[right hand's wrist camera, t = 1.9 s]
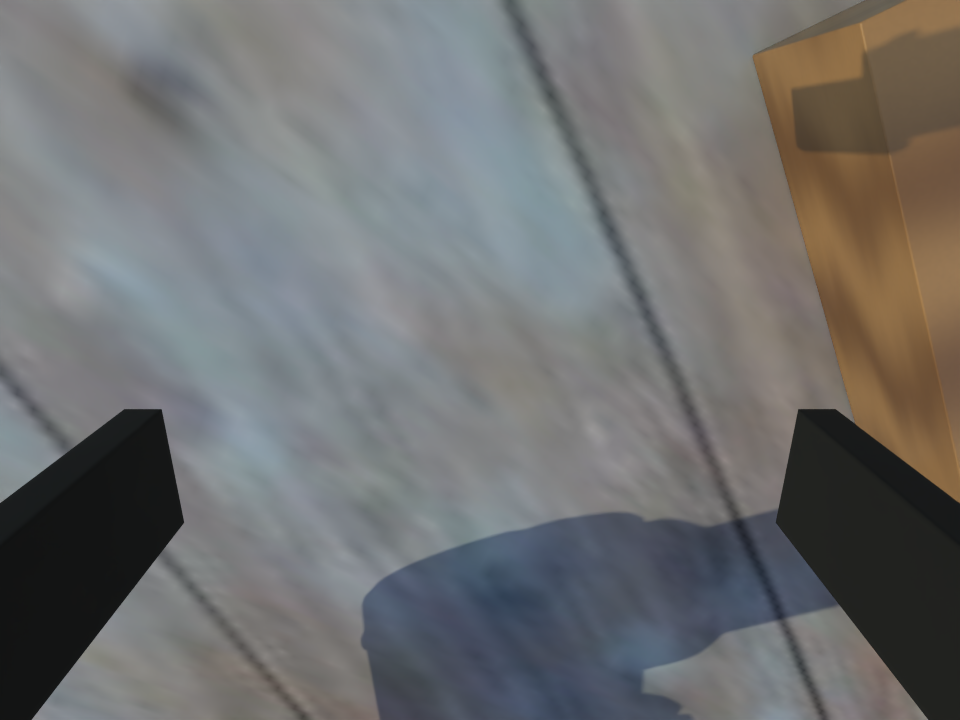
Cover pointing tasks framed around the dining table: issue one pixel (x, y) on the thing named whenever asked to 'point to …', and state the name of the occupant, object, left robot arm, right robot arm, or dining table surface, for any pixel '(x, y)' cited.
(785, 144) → the post
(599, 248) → the dining table surface
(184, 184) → the dining table surface
